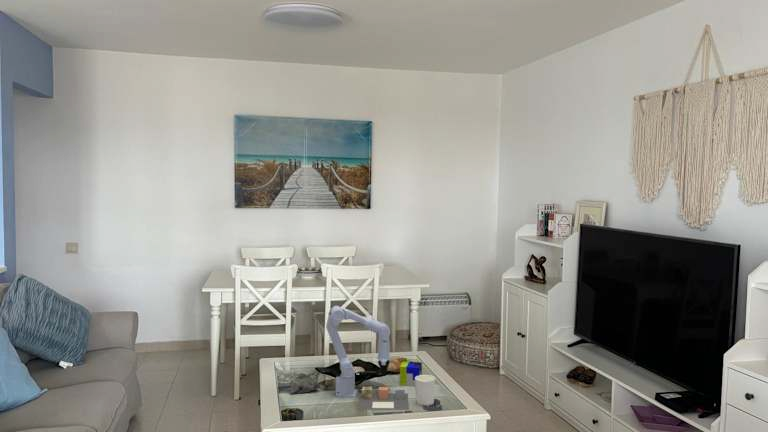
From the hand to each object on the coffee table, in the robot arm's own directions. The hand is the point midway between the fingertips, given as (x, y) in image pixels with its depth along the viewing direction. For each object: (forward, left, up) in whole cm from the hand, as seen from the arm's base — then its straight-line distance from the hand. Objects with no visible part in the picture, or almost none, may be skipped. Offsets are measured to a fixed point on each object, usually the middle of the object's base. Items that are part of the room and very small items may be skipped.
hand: (383, 375), depth 291 cm
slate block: (+8, -9, -8) cm, 15 cm away
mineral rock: (-40, -1, -9) cm, 41 cm away
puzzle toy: (+14, +14, -9) cm, 22 cm away
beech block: (-8, -9, -8) cm, 15 cm away
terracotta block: (0, -9, -8) cm, 12 cm away
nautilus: (+9, +34, -9) cm, 36 cm away
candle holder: (+20, -15, -9) cm, 26 cm away
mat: (0, -14, -8) cm, 16 cm away
